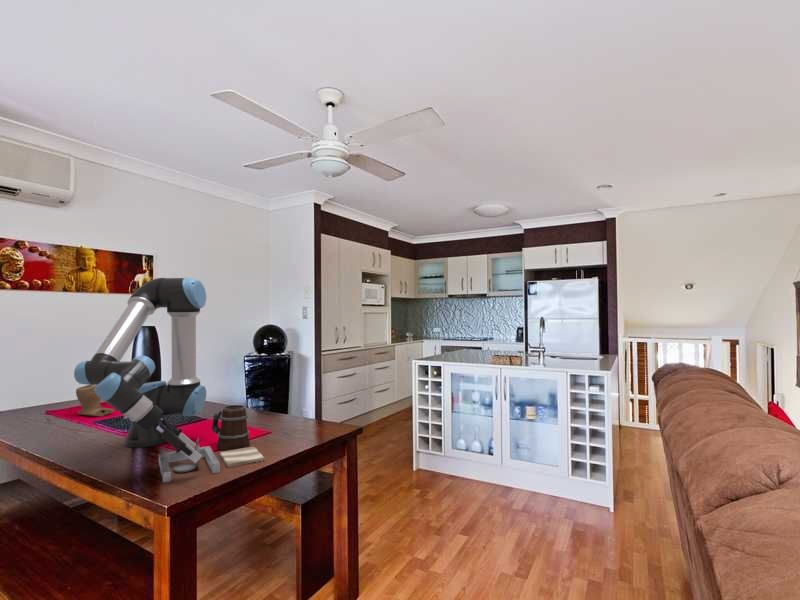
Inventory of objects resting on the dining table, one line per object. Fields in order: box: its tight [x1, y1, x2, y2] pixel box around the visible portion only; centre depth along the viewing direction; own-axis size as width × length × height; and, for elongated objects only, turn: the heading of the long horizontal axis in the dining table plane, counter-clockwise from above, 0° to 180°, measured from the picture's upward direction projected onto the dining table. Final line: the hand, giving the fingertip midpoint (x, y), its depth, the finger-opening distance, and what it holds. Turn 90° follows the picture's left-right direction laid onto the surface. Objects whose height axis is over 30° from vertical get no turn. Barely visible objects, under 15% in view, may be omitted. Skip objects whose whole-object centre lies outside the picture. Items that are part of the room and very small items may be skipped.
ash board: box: [219, 446, 265, 468], centre depth 150 cm, size 14×12×1 cm
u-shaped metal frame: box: [158, 445, 221, 484], centre depth 144 cm, size 26×16×3 cm, turn 33°
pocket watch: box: [173, 437, 200, 473], centre depth 139 cm, size 8×8×10 cm
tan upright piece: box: [75, 384, 115, 417], centre depth 208 cm, size 15×12×15 cm
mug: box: [211, 404, 250, 452], centre depth 164 cm, size 16×12×15 cm
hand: (195, 453), depth 140 cm, fingers open, 13 cm apart
